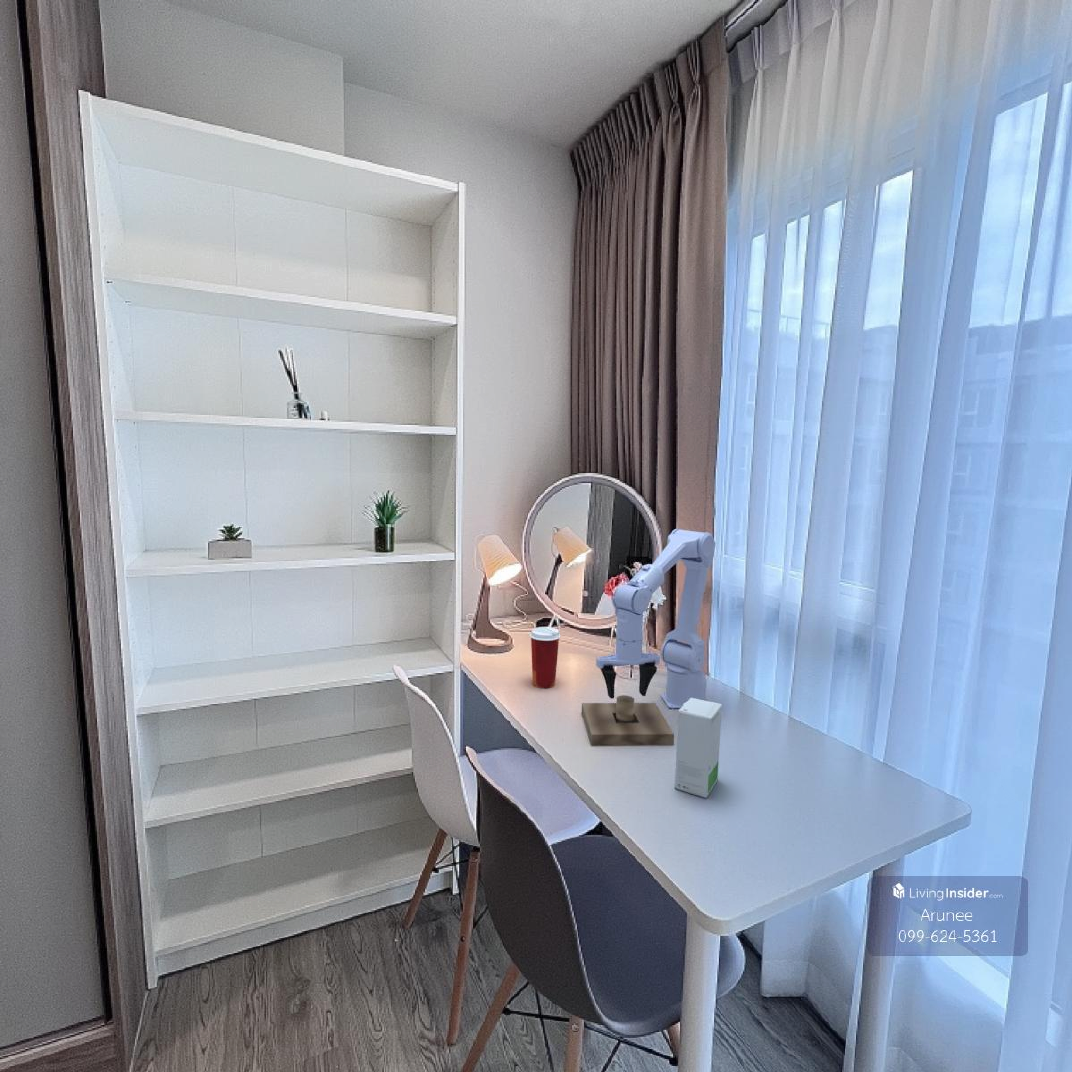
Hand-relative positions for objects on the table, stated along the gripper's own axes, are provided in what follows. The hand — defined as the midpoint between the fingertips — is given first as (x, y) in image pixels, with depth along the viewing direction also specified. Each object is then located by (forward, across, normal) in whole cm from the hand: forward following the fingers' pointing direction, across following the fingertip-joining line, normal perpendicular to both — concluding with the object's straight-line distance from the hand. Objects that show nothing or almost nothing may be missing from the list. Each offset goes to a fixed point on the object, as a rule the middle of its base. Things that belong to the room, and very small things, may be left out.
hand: (626, 695), depth 135 cm
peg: (+8, 0, 0) cm, 8 cm away
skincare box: (+8, -5, +24) cm, 26 cm away
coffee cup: (+8, +13, -28) cm, 32 cm away
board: (+8, 0, 0) cm, 8 cm away
